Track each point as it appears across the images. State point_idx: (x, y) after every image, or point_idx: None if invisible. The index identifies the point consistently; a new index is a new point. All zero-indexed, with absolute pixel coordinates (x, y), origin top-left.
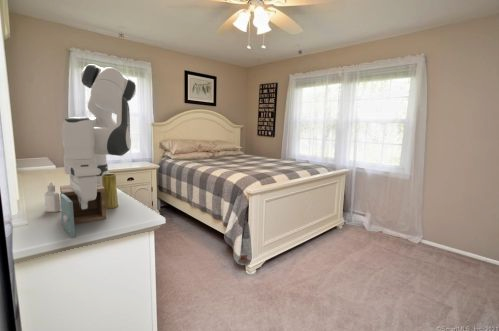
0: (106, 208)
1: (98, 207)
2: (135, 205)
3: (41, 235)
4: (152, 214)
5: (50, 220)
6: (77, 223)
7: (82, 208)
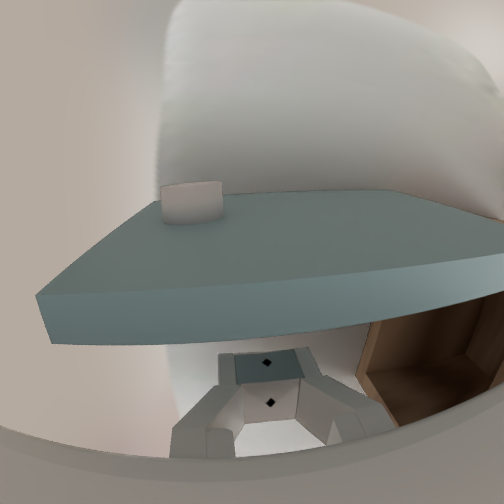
0: None
1: (454, 367)
2: None
3: (323, 79)
4: None
5: (491, 169)
6: None
7: (218, 361)
